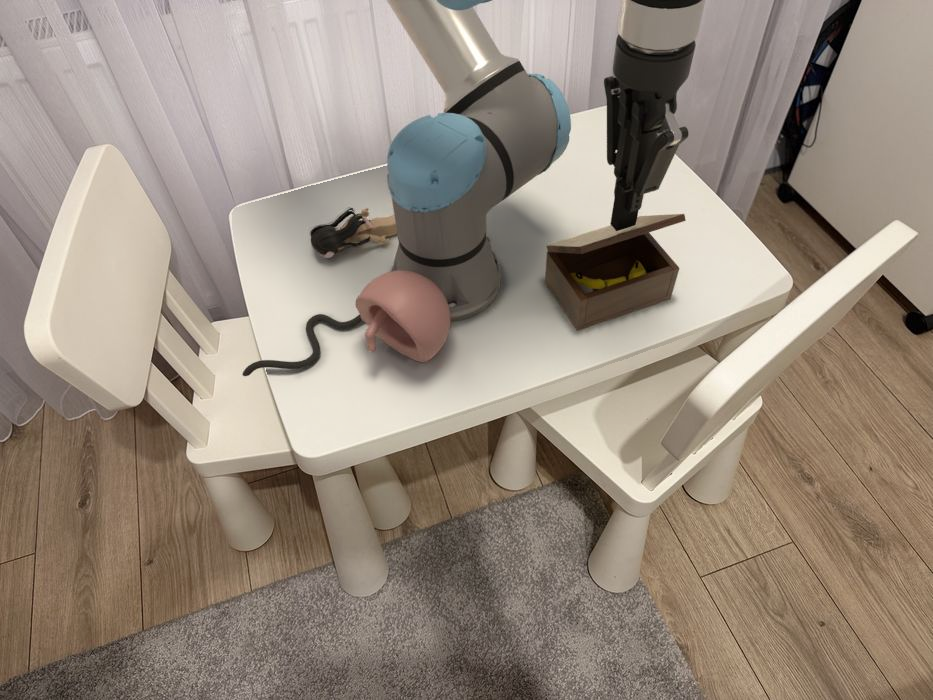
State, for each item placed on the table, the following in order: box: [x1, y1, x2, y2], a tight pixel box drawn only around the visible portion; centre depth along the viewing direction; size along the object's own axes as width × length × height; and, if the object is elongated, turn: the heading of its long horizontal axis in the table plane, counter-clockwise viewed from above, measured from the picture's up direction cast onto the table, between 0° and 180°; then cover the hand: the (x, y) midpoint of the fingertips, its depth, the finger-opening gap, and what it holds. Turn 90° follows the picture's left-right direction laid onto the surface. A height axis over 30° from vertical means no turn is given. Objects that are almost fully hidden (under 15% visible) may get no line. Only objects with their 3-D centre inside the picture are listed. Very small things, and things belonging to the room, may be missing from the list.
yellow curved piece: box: [570, 261, 646, 295], centre depth 91 cm, size 10×6×4 cm, turn 103°
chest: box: [544, 232, 680, 332], centre depth 91 cm, size 10×14×6 cm
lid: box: [546, 213, 687, 254], centre depth 86 cm, size 11×14×1 cm
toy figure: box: [309, 206, 398, 259], centre depth 100 cm, size 7×6×15 cm
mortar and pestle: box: [354, 270, 451, 363], centre depth 84 cm, size 12×12×11 cm
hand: (623, 224), depth 83 cm, fingers closed
